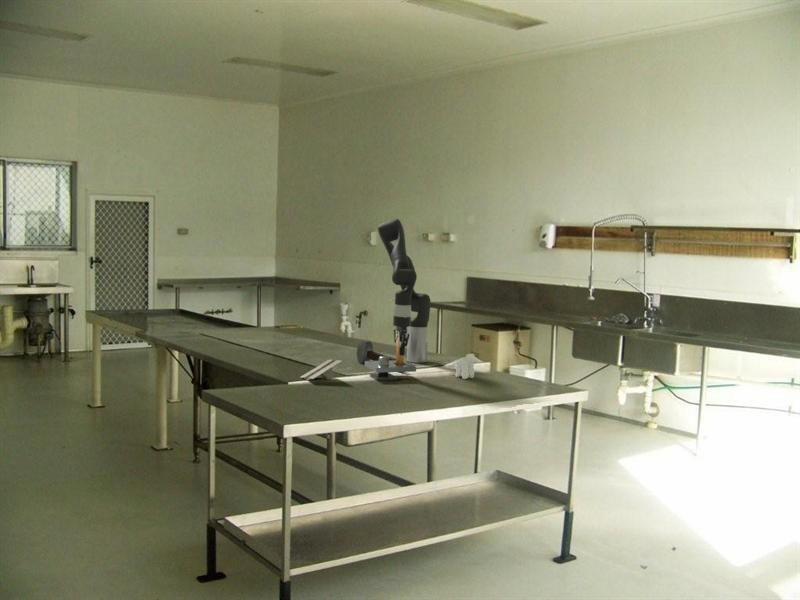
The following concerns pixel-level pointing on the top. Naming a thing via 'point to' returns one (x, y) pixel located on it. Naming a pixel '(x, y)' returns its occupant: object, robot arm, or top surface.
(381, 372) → the plate with round knob
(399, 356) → the pin
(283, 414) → the top surface
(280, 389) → the top surface
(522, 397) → the top surface
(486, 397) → the top surface
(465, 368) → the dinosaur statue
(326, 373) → the gray slanted slat stand
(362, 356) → the hammer
